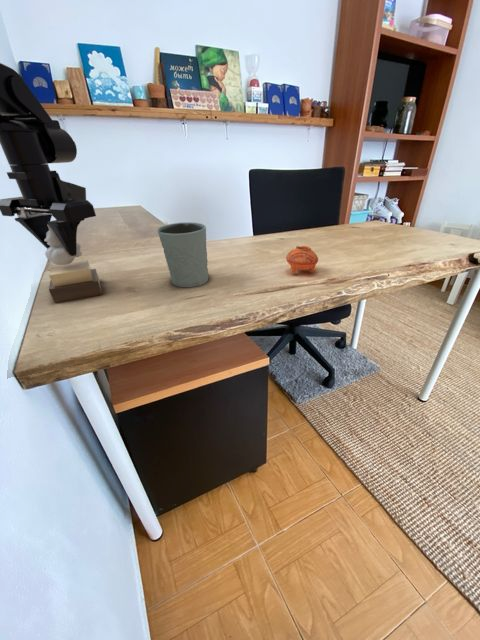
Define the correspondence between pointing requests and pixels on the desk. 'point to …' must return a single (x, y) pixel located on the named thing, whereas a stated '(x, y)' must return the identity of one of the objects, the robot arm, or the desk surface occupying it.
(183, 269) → the grey green cup
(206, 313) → the desk surface
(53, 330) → the desk surface
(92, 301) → the desk surface
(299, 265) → the pot
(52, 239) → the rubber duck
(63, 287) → the memo paper holder
